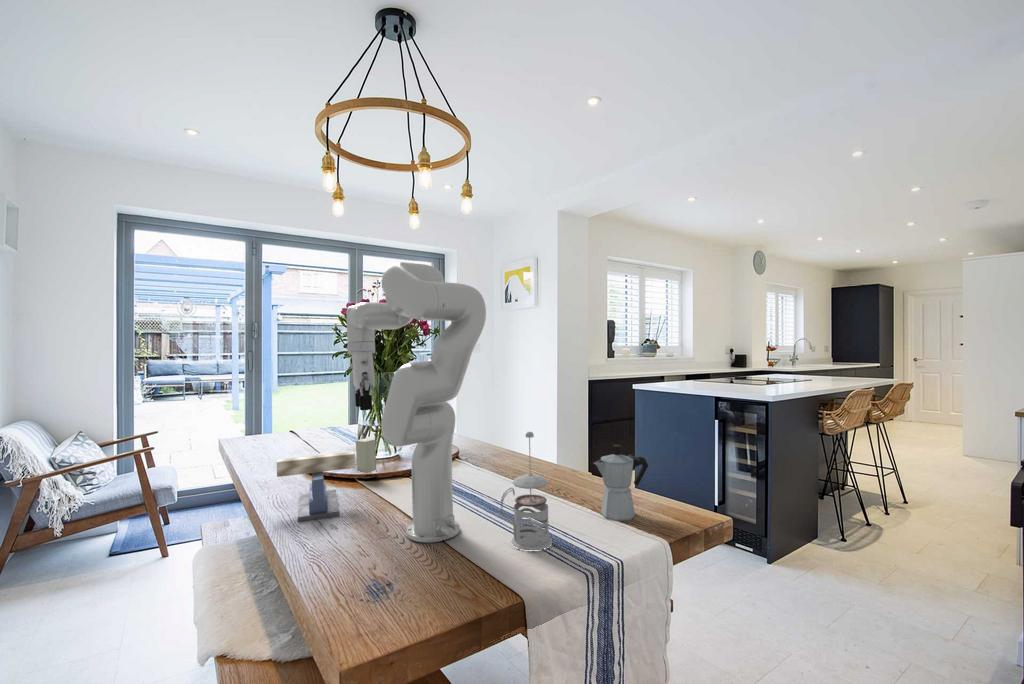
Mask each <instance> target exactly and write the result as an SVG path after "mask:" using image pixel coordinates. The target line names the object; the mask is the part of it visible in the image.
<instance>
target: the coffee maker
mask: <svg viewBox="0 0 1024 684" xmlns="http://www.w3.org/2000/svg"><path fill="white" fill-rule="evenodd" d="M621 450H622V445H621V444H612V451H613V454H609V455H603V456H601V457H600V459H598V460H597V461H595V462H593V464H594V465H596V467H597V469H598V471H599V473H600V474H601V477H602V480H603V485H604V486H605V487H604V488H603V493H602V499H601V509H600V515H601V516H602V517H603V518H604V519H606V520H611V521H616V522H625V521H632V519H634V517H635V516H636V512H635V507H634V501H633V495H632V490H631V488H630V487H631V486H632V478H633V477H632V476H633V470H634V469H635V468H637V467H639V466H641V468H640V469H639V472H638V473H637V476H636V477H635V479H634V481H633V484H634V485H635V486H636V487H638V486H639V485H640V482H641V480H642V478H644V477H643V476H644V474H645V473H646V471H647V469H648V467H649V464H648V462H647V460H646V458H645V457H642V456H635V455H634V454H628V455H624V454H621Z"/></svg>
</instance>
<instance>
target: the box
mask: <svg viewBox="0 0 1024 684" xmlns="http://www.w3.org/2000/svg"><path fill="white" fill-rule="evenodd" d="M355 458H356V472H357V471H360V472H365V473H368V472H371V471H374V470H376V471H377V457H376V439H374V438H361V439H356V441H355Z"/></svg>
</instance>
